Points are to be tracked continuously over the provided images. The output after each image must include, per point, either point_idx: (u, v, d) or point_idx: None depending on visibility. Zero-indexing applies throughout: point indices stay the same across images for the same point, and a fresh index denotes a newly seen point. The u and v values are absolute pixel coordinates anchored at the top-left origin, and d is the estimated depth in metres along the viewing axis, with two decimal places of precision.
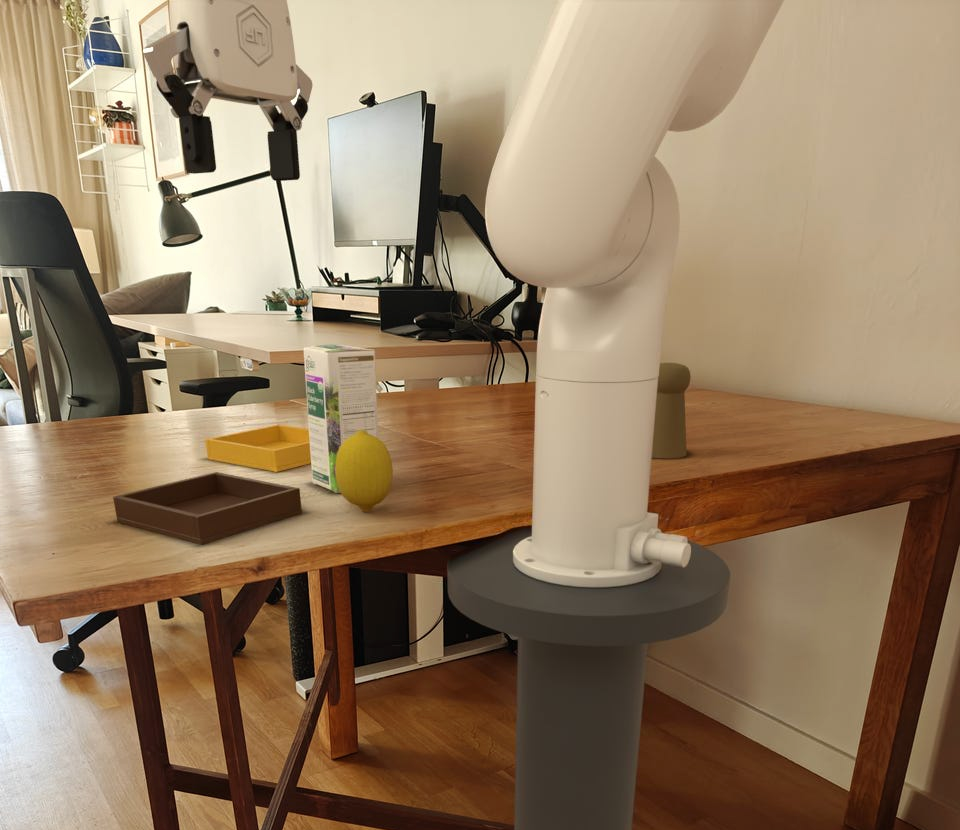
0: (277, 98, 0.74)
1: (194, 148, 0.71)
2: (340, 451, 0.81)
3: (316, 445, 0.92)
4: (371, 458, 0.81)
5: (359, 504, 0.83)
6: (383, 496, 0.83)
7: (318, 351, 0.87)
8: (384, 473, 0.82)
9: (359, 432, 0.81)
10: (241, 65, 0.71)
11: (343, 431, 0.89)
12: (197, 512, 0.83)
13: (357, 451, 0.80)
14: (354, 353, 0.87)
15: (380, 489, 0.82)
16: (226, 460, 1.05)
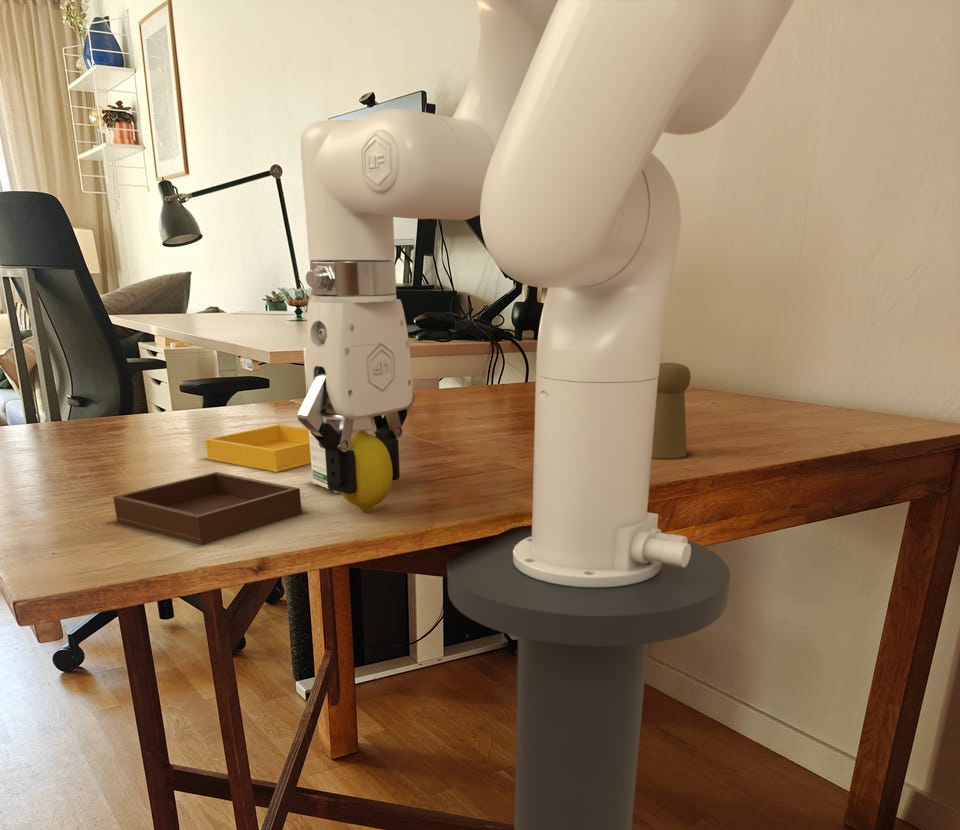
0: (396, 410, 0.81)
1: (339, 476, 0.80)
2: None
3: (316, 445, 0.92)
4: (370, 458, 0.81)
5: (359, 504, 0.83)
6: (383, 496, 0.83)
7: None
8: (384, 473, 0.82)
9: (359, 432, 0.81)
10: (369, 396, 0.77)
11: None
12: (197, 512, 0.83)
13: (357, 451, 0.80)
14: None
15: (380, 489, 0.82)
16: (226, 460, 1.05)
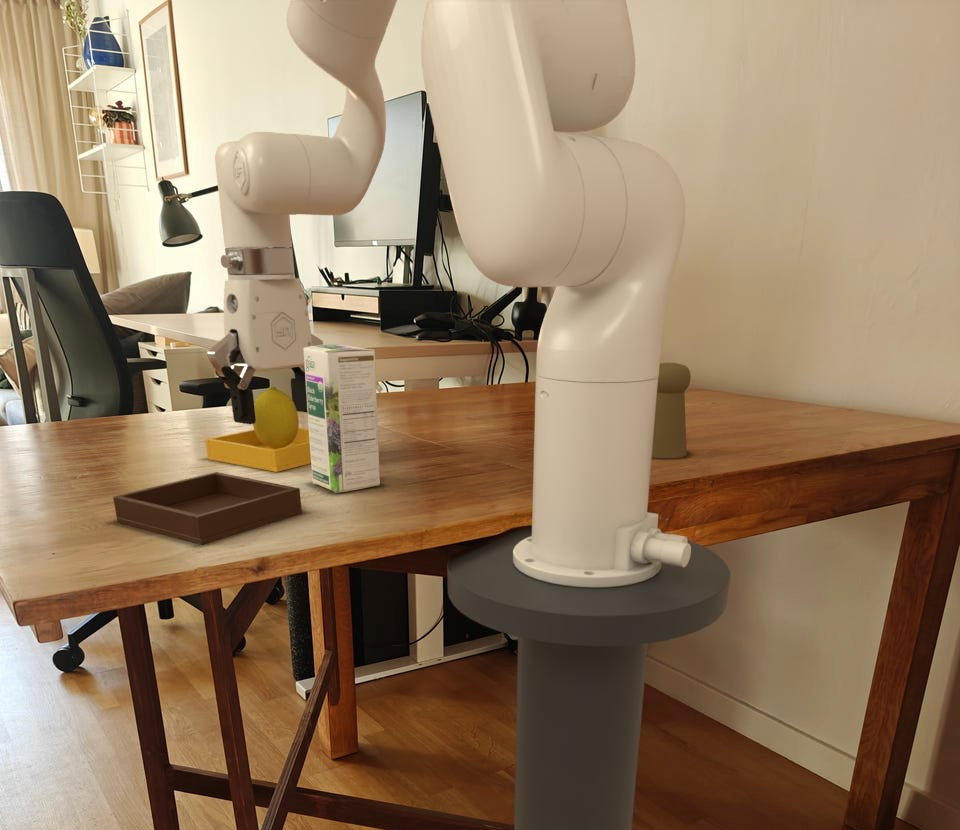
0: (298, 365, 1.04)
1: (241, 410, 1.01)
2: (255, 403, 1.04)
3: (316, 445, 0.92)
4: (278, 408, 1.04)
5: (271, 445, 1.06)
6: (290, 439, 1.06)
7: (318, 351, 0.87)
8: (289, 420, 1.05)
9: (270, 388, 1.04)
10: (274, 353, 1.00)
11: (343, 431, 0.89)
12: (197, 512, 0.83)
13: (267, 402, 1.03)
14: (354, 353, 0.87)
15: (287, 433, 1.05)
16: (226, 460, 1.05)
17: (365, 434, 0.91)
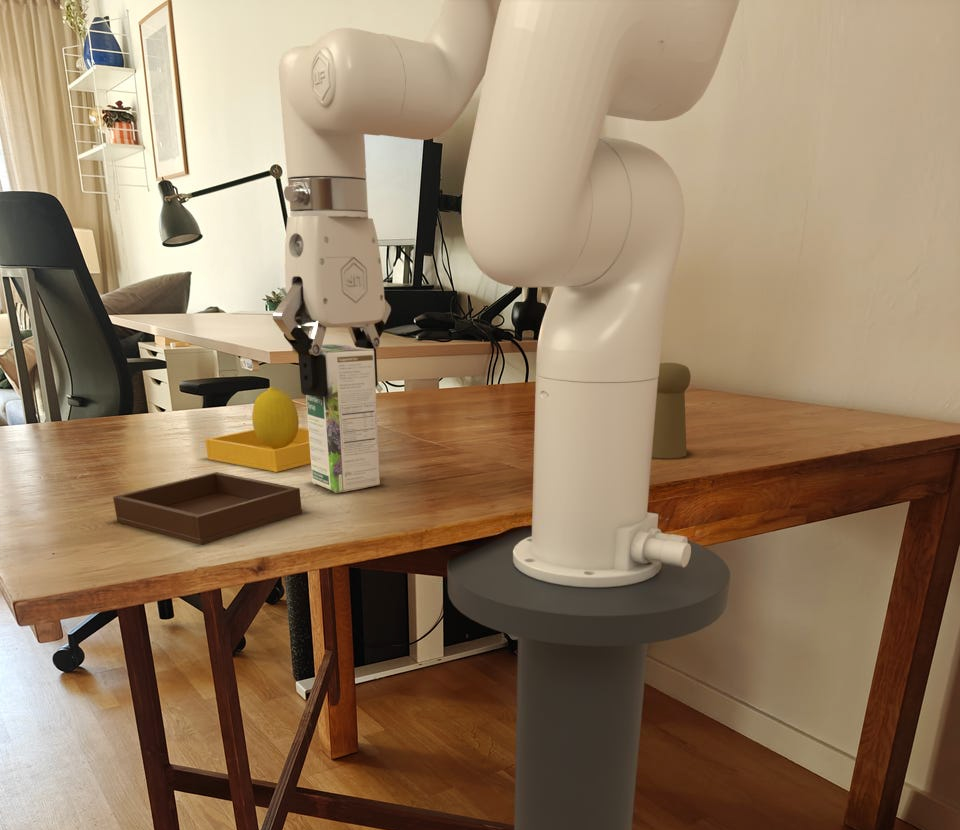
0: (369, 323, 0.88)
1: (311, 380, 0.86)
2: (255, 403, 1.04)
3: (315, 445, 0.92)
4: (278, 408, 1.04)
5: (271, 445, 1.06)
6: (290, 439, 1.06)
7: None
8: (289, 420, 1.05)
9: (270, 388, 1.04)
10: (343, 306, 0.85)
11: (343, 431, 0.89)
12: (197, 512, 0.83)
13: (267, 402, 1.03)
14: (354, 353, 0.87)
15: (287, 433, 1.05)
16: (226, 460, 1.05)
17: (365, 434, 0.91)
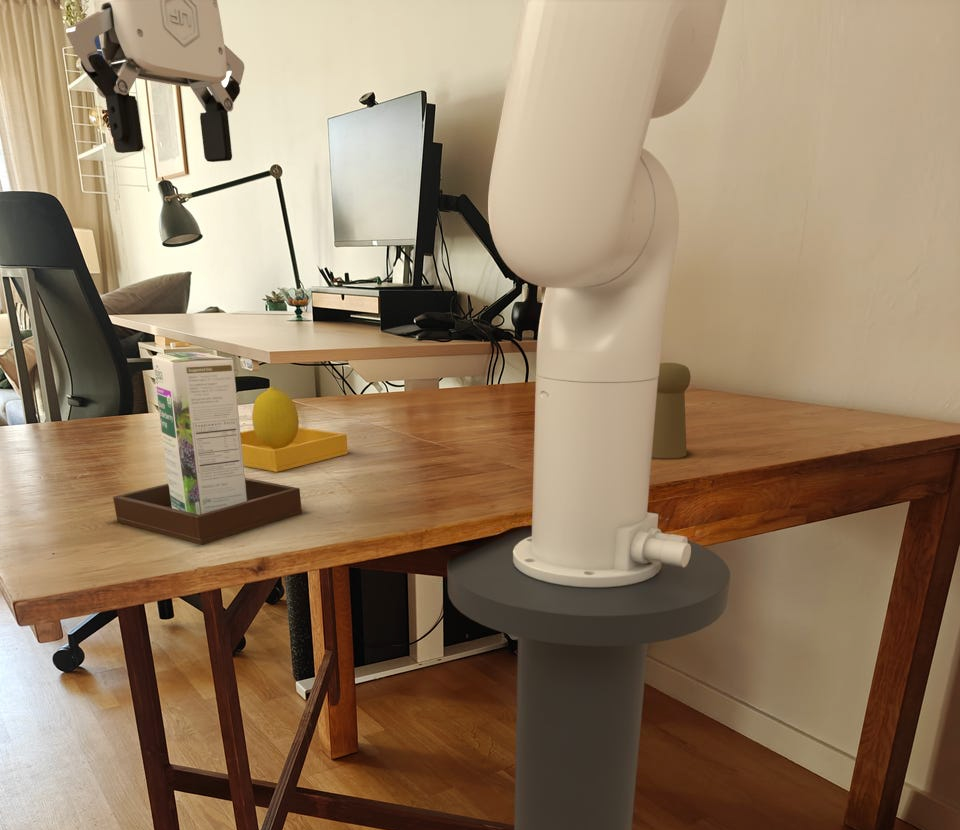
0: (205, 79, 0.76)
1: (121, 127, 0.72)
2: (255, 403, 1.04)
3: (171, 468, 0.80)
4: (278, 408, 1.04)
5: (271, 445, 1.06)
6: (290, 439, 1.06)
7: (164, 360, 0.75)
8: (289, 420, 1.05)
9: (270, 388, 1.04)
10: (166, 45, 0.72)
11: (198, 452, 0.77)
12: None
13: (267, 402, 1.03)
14: (207, 363, 0.76)
15: (287, 433, 1.05)
16: None
17: (226, 455, 0.79)
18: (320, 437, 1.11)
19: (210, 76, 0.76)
